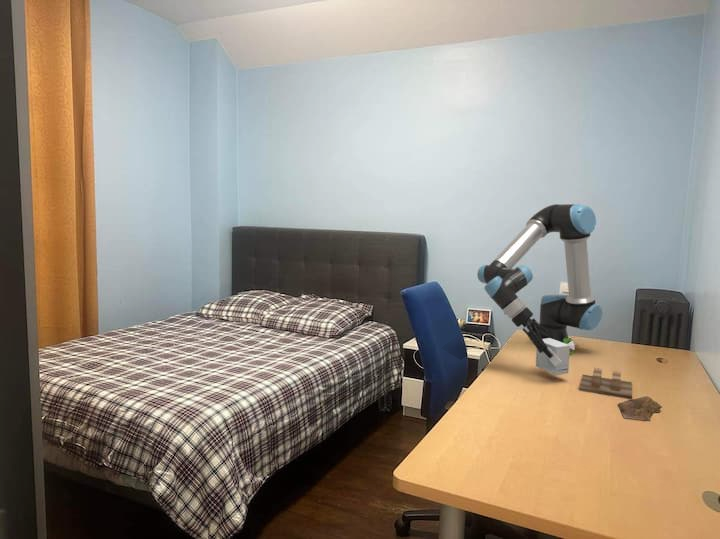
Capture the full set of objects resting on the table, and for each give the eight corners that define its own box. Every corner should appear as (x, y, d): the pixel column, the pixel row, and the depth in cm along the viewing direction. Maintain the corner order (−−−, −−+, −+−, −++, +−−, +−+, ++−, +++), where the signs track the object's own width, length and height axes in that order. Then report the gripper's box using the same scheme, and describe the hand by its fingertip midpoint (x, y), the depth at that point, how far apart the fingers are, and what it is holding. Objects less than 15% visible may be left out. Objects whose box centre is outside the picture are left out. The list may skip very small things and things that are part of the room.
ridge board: (582, 377, 187) (583, 363, 186) (631, 384, 179) (632, 371, 179) (578, 390, 172) (579, 375, 172) (631, 399, 165) (633, 384, 165)
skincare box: (534, 366, 188) (536, 339, 187) (548, 364, 191) (550, 337, 189) (554, 375, 179) (556, 346, 177) (569, 373, 181) (571, 344, 180)
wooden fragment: (646, 426, 145) (646, 422, 145) (605, 414, 153) (606, 411, 153) (670, 403, 163) (670, 400, 163) (633, 394, 171) (633, 391, 171)
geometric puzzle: (553, 345, 222) (561, 334, 217) (566, 344, 224) (575, 333, 219) (561, 358, 217) (570, 347, 212) (574, 357, 219) (583, 346, 214)
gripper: (516, 313, 200) (556, 357, 195) (504, 325, 179) (547, 374, 174) (531, 301, 197) (571, 345, 192) (520, 312, 176) (565, 362, 171)
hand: (560, 359), depth 183 cm, fingers closed on skincare box, 11 cm apart
